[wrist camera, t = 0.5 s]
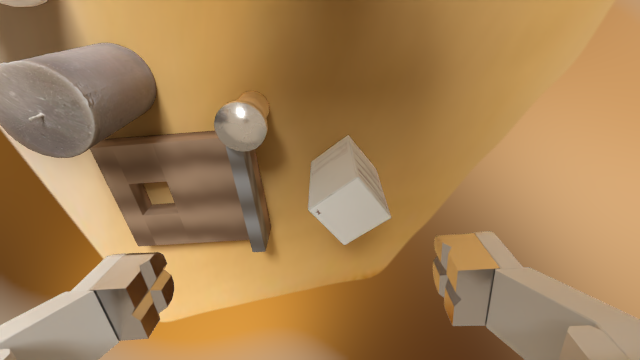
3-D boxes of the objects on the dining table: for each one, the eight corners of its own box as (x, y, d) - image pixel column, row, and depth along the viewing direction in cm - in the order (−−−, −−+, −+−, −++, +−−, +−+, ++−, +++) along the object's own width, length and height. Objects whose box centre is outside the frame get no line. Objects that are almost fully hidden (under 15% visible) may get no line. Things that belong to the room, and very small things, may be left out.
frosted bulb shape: (227, 86, 42) (208, 104, 36) (271, 82, 42) (261, 100, 35) (236, 128, 45) (221, 153, 39) (278, 125, 45) (270, 149, 38)
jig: (102, 139, 46) (74, 157, 41) (250, 127, 45) (241, 145, 40) (146, 234, 56) (128, 259, 50) (271, 226, 54) (265, 251, 49)
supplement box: (338, 193, 51) (342, 248, 40) (309, 160, 48) (305, 210, 37) (377, 168, 48) (393, 219, 38) (349, 132, 46) (357, 176, 35)
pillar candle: (121, 127, 46) (43, 180, 33) (64, 65, 41) (-53, 98, 28) (172, 94, 43) (110, 137, 30) (117, 25, 39) (16, 40, 26)
